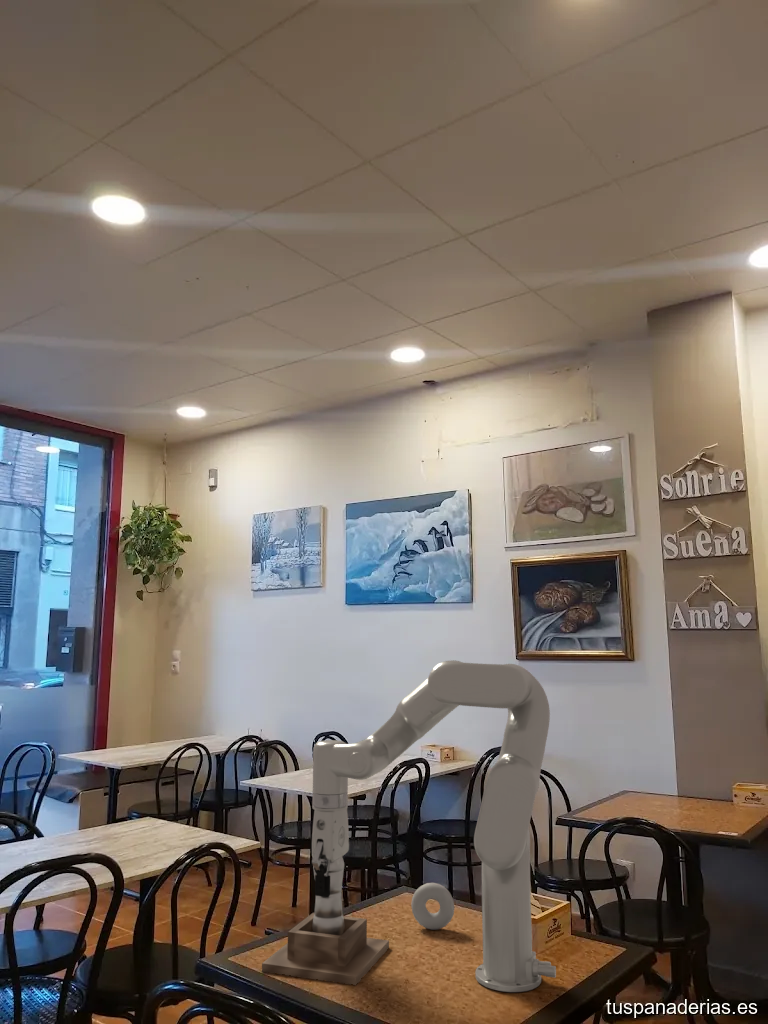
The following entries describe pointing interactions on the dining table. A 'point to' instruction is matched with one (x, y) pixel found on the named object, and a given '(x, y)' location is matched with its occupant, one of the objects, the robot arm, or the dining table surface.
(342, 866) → the plastic bottle
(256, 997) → the dining table surface
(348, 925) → the bottle stand
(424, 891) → the donut
